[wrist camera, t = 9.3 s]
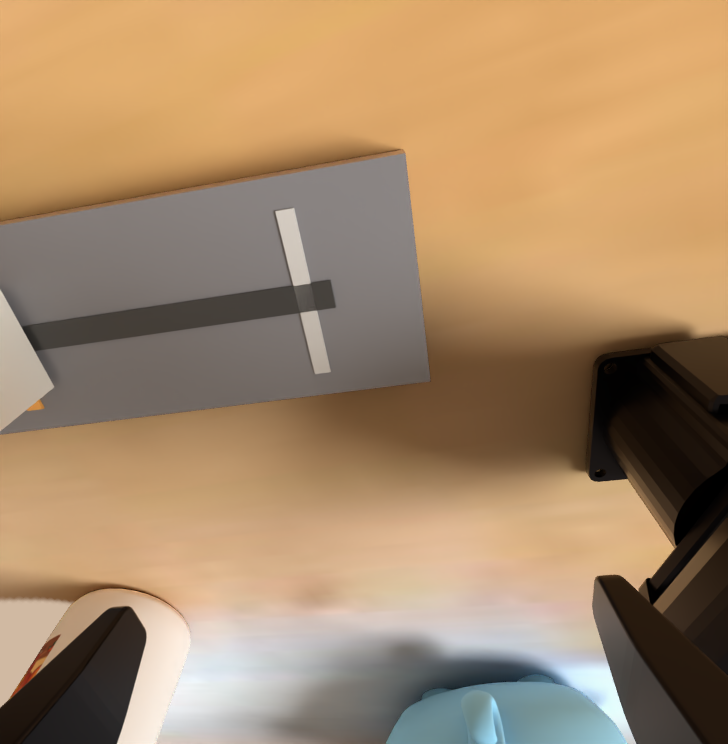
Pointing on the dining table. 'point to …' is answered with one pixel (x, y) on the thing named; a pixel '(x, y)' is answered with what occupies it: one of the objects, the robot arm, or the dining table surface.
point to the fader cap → (18, 369)
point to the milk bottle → (158, 660)
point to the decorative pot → (506, 716)
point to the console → (220, 294)
